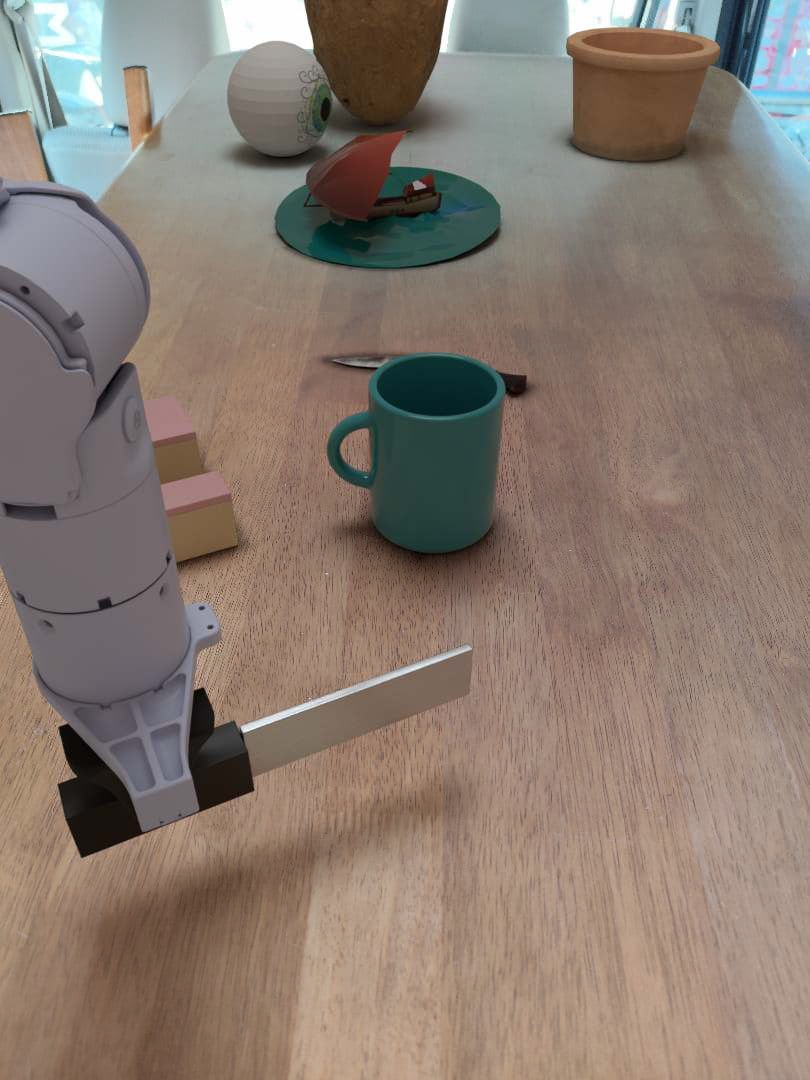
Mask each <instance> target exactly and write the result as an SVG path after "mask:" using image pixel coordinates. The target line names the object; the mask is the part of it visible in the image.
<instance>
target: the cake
mask: <svg viewBox="0 0 810 1080" xmlns="http://www.w3.org/2000/svg"><path fill="white" fill-rule="evenodd" d="M143 404H144V409H145V414H146V419H147V424H148V429H149V432H150V435H151V439H152V444H153V449H154V455H155V460H156V465H157V469H158V474H159V479H160V484H161V485H162V484H166V483H170V482H174V481H178V480H182V479H186V478H189V477H193V476H197V475H201V474H203V468H202V464H201V457H200V449H199V444H198V438H197V432H196V430H195V427H194V426H193V425H192V423H191V421H190V419H189V417H188V416H187V414H186V412H185V410H184V409H183V407H182V405H181V403H180V401H179V399H178V398H177V396H176V395H175V394H170V395H165V396H161V397H156V398H151V399H147V400H143Z"/></svg>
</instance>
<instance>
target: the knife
mask: <svg viewBox="0 0 810 1080" xmlns="http://www.w3.org/2000/svg"><path fill="white" fill-rule="evenodd" d="M402 356H403V355H401V356H399V355H397V356H396V355H395V356H390V355H388V356H387V355H386V356H385V355H383V356H382V355H381V356H361V357H360V356H359V357H345V358H344V357H343V358H335V359H331V361H332V362H335V363H339V364H342V365H348V366H354V367H363V368H364V367H367V368H379V367H380V366H382V365H383V364H385V363H387V362H389V361H391V360H393V359H396V358H399V357H402ZM494 370H495V371H496V372H497V373H499V375H500V376H501V377H502V379H503V381H504V383H505V388H507V389H509V390H510V391H511V392H514V393H516V394H517V393H522V392H524V391H525V390H527V389H526V388H527V380H528V378H527V377H528V376H527V374H513V373H507V372H500V371H499V370H497V369H494Z"/></svg>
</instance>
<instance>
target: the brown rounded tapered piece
mask: <svg viewBox="0 0 810 1080" xmlns="http://www.w3.org/2000/svg"><path fill="white" fill-rule="evenodd" d="M303 3H304V10H305V14H306V19H307V25H308V28H309V32H310V35H311V40H312V45H313V46H312V48H313V49H312V53H313V55H314V58H315V59H316V60H317V61H318V63H319V64H320V65H321V66H322V68H323V70H324V72H325V74H326V76H327V78H328V81H329V85H330V88H331V93H332V95H334V97H335V98H336V99H337V101H338V103H340V105H341V106H342V107H343V108H344V109H345V110H346V111H347V112H348V114H351V116H352V117H355V118H356V119H357V120H360V121H361V122H363V123H366V124H369V125H371V126H382V125H386V124H390V123H395V122H399V121H401V120H403V119H404V118H406V117H407V116H408V115H410V114H411V112H413V110H414V109H415V108H416V106H417V104H419V101H420V99H421V97H422V95H423V93H424V91H425V88H426V86H427V84H428V82H429V80H430V78H431V76H432V74H433V72H434V70H435V67H436V64H437V62H438V57H439V54H440V52H441V46H442V40H443V39H442V38H443V33H444V28H445V20H446V16H447V10H448V5H449V0H303Z"/></svg>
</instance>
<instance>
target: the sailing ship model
mask: <svg viewBox="0 0 810 1080" xmlns="http://www.w3.org/2000/svg"><path fill="white" fill-rule="evenodd" d="M412 132H413V129H408V130H401V131H394V132H388V133H383V134H375V135H374V134H373V135H371V134H362V133H361V134H358V135H357V136H356V137H354V138H353V139H351V140H350V141H349V142H347V143H346V144H344V145H343V146H342V147H340V148H339V149H337V150H336V151H334V152H332V153H331V154H328V155H327V156H323V157H322V158H321V159H319V160H317V161H316V162H315V163H313V165H311V167H310V169H308V171H307V172H306V174H305V184H303V185H302V186H300V187H299V186H298V188H296V189H294V190H292V191H291V192H290V193H289V194H287V195H286V196H285V198H283V199H282V201H281V202H280V204H279V205H278V207H277V209H276V212H275V214H274V222H275V226H276V230H277V232H278V233H279V235H280V236H281V237H282V238H283V240H284V242H286V243H287V244H288V245H290V246H291V247H292V248H294V249H296V250H297V251H298V252H300V253H301V254H303V255H306V256H308V257H311V258H315V259H318V260H323V261H327V262H332V263H337V264H342V265H349V266H355V267H363V268H383V269H384V268H387V269H391V268H392V269H397V268H407V267H413V266H421V265H422V266H423V265H428V264H432V263H436V262H440V261H443V260H448V259H452V258H454V257H457V256H458V255H462V254H463V253H466V252H468V251H470V250H472V249H473V248H475V247H477V246H478V245H481V244H482V243H484V242H485V241H486V240H487V239H488V238H489V237H490V236H492V235H493V234H494V233H495V232H496V231H497V229H498V227H499V226H500V223H501V219H502V216H501V214H502V213H501V205H500V204H499V202H498V201H497V200H496V198H495V196H494V195H493V194H492V193H491V192H490V191H488V190H487V189H486V188H485V187H483V186H482V185H481V184H479V183H477V182H475V181H472V180H471V179H469V178H466V177H464V176H461V175H457V174H455V173H451V172H448V171H443V170H440V169H433V168H426V167H416V166H391V162H392V161H391V160H392V155H393V153H394V152H395V150H396V148H397V147H398V146H399V144H400V142H401V141H402V140H403V138H404V136H405V135H406V134H408V133H410V134H412ZM409 154H410V155H409V156H410V158H409V159H410V160H411V156H412V153H411V152H410V153H409Z"/></svg>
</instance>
